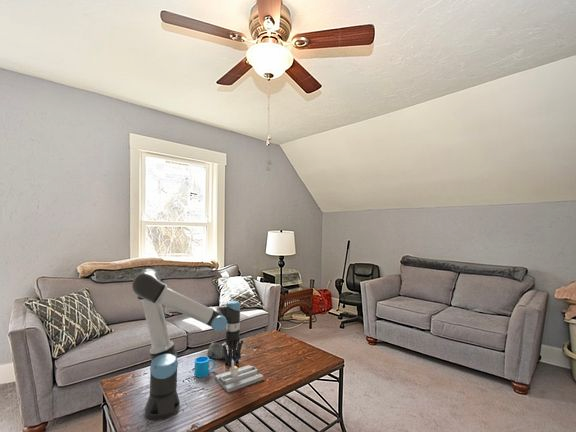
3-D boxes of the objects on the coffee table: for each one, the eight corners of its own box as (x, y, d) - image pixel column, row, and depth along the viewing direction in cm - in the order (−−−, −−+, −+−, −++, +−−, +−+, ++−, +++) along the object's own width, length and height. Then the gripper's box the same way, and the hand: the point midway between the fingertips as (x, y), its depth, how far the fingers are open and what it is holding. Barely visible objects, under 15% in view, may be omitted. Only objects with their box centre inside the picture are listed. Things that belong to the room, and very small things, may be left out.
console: (227, 392, 150) (228, 385, 150) (215, 379, 163) (215, 372, 163) (263, 379, 164) (263, 373, 164) (249, 368, 176) (249, 362, 177)
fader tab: (233, 378, 160) (234, 369, 160) (231, 376, 162) (231, 366, 162) (237, 377, 161) (238, 367, 161) (235, 375, 164) (235, 365, 164)
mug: (195, 378, 163) (196, 363, 163) (193, 371, 170) (193, 357, 171) (216, 373, 169) (217, 359, 169) (213, 367, 176) (213, 354, 176)
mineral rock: (228, 360, 186) (229, 344, 186) (212, 364, 180) (213, 348, 180) (221, 352, 196) (221, 337, 197) (205, 356, 190) (206, 341, 191)
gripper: (225, 334, 154) (223, 378, 153) (246, 329, 162) (245, 371, 161) (219, 329, 160) (217, 373, 159) (240, 325, 168) (239, 366, 167)
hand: (231, 372), depth 160 cm, fingers closed
